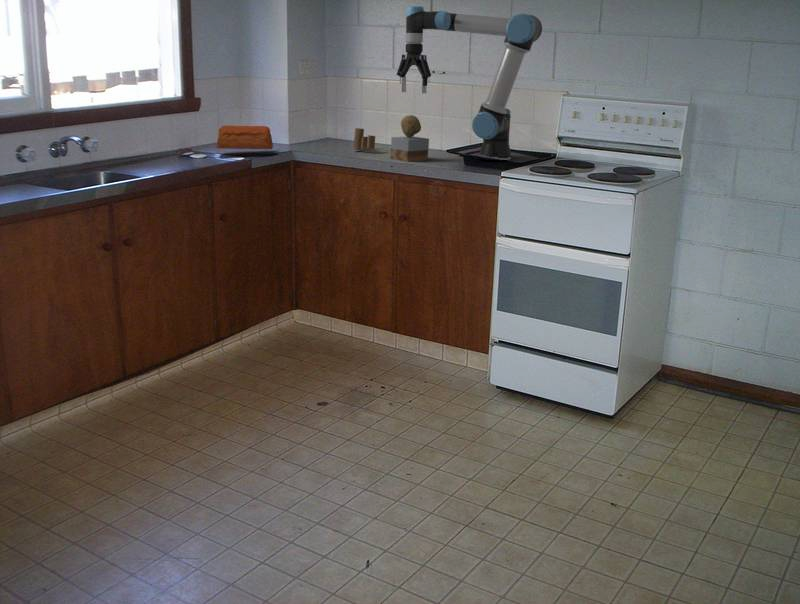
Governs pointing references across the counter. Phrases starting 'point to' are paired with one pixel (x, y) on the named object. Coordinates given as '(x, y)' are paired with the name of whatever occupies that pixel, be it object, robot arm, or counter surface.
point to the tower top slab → (409, 143)
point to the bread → (244, 137)
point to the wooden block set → (363, 140)
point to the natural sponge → (410, 125)
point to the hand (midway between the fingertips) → (413, 92)
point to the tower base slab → (409, 155)
